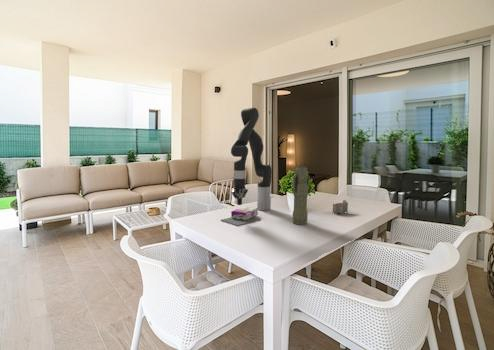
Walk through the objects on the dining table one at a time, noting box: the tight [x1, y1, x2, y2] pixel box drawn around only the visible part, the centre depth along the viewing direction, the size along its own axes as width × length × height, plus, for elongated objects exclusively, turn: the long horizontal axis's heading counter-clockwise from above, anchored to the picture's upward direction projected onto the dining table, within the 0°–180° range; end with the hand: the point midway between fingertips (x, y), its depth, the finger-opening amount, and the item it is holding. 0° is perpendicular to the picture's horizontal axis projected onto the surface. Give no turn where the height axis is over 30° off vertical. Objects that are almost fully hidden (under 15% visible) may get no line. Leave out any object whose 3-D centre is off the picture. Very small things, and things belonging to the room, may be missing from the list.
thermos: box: [292, 166, 310, 226], centre depth 178 cm, size 9×12×35 cm
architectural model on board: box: [332, 199, 349, 215], centre depth 205 cm, size 11×3×10 cm, turn 116°
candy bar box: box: [230, 206, 259, 220], centre depth 191 cm, size 11×5×16 cm
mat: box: [220, 216, 262, 227], centre depth 185 cm, size 20×16×1 cm
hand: (239, 204), depth 183 cm, fingers closed
